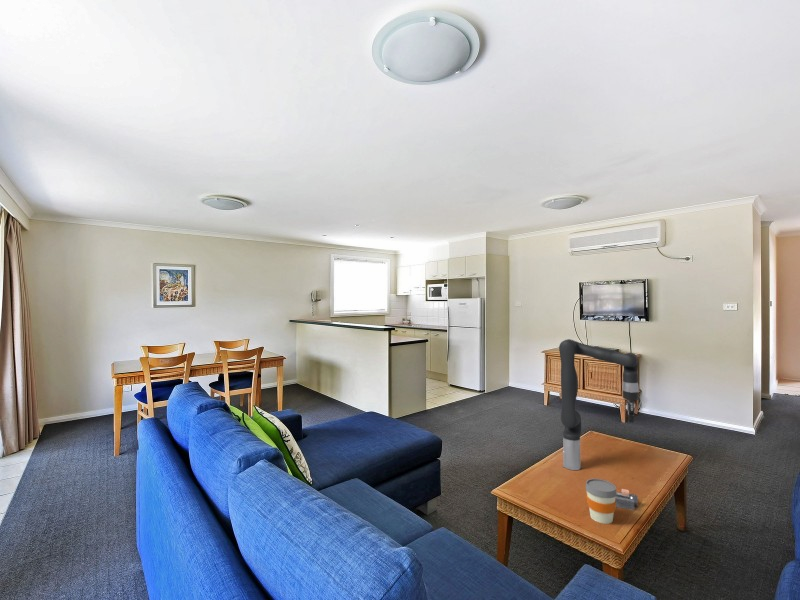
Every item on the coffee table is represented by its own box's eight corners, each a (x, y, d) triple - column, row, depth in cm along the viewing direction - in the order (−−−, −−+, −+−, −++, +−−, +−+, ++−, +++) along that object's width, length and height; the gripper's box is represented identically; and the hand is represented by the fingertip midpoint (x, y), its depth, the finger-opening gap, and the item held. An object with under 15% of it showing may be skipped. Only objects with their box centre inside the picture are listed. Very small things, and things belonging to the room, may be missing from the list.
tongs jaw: (598, 503, 184) (598, 495, 184) (598, 500, 187) (598, 492, 187) (634, 510, 177) (634, 501, 177) (633, 507, 180) (633, 499, 180)
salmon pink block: (622, 501, 185) (622, 491, 185) (621, 498, 188) (621, 488, 188) (629, 503, 184) (629, 492, 184) (628, 500, 186) (628, 489, 186)
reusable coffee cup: (609, 529, 163) (608, 494, 163) (580, 516, 173) (580, 483, 173) (622, 519, 170) (621, 486, 170) (594, 507, 181) (593, 475, 181)
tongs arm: (597, 498, 188) (597, 489, 188) (598, 495, 191) (598, 486, 191) (637, 508, 179) (637, 498, 179) (637, 504, 182) (637, 494, 182)
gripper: (621, 386, 213) (622, 417, 213) (623, 392, 202) (624, 424, 202) (637, 388, 210) (637, 419, 210) (640, 393, 198) (640, 426, 198)
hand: (631, 421), depth 206 cm, fingers closed
